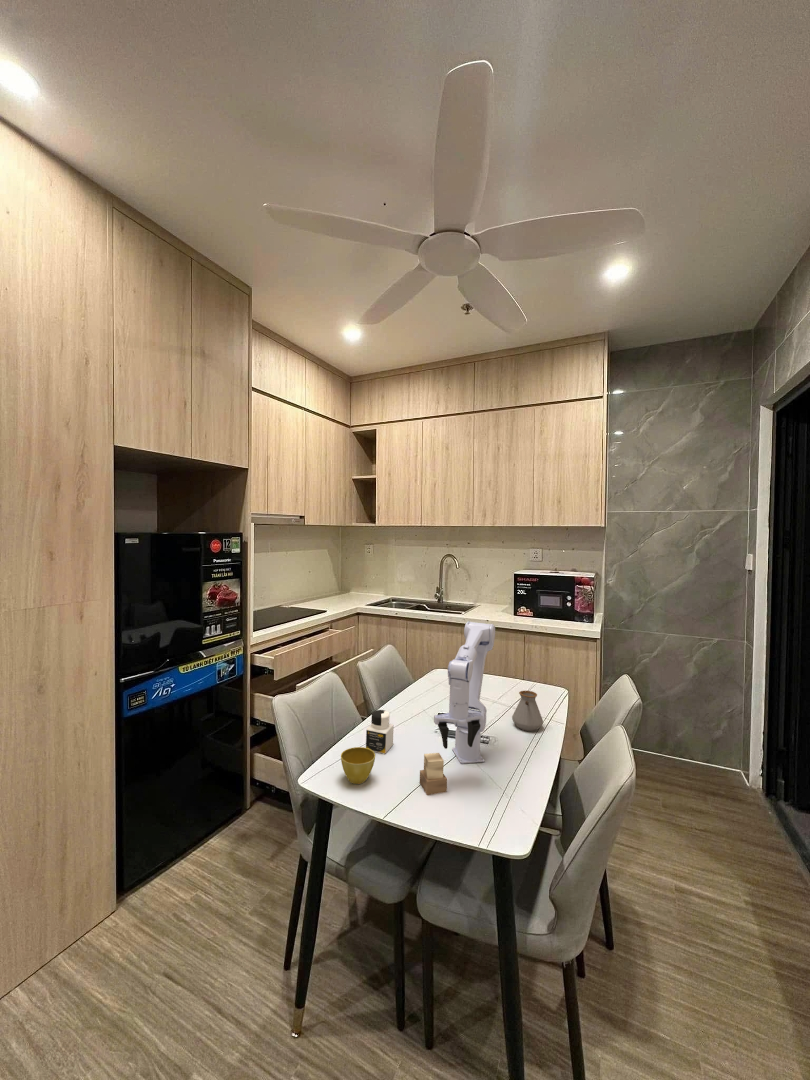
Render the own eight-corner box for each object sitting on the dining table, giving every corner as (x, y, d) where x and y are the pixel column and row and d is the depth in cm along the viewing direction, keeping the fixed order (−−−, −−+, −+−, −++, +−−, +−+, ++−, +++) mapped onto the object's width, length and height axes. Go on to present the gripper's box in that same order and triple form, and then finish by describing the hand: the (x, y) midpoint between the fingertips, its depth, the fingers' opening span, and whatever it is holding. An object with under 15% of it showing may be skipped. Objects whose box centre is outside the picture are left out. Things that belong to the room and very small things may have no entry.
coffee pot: (513, 718, 175) (514, 681, 175) (543, 723, 171) (544, 685, 171) (507, 742, 155) (509, 699, 155) (541, 748, 151) (543, 705, 151)
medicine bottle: (365, 750, 146) (366, 714, 146) (374, 740, 152) (375, 706, 152) (385, 754, 143) (386, 718, 143) (393, 744, 150) (394, 710, 150)
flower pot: (357, 766, 136) (358, 743, 136) (381, 778, 129) (382, 754, 129) (332, 779, 128) (333, 755, 128) (357, 793, 121) (358, 768, 121)
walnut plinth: (419, 783, 128) (419, 770, 128) (438, 780, 129) (439, 767, 129) (426, 795, 122) (427, 781, 122) (446, 792, 124) (447, 778, 124)
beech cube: (423, 771, 127) (424, 753, 127) (438, 769, 128) (439, 752, 128) (427, 779, 123) (428, 761, 123) (443, 778, 124) (443, 760, 124)
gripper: (439, 707, 124) (437, 754, 125) (487, 705, 127) (485, 751, 127) (432, 697, 131) (431, 742, 132) (478, 695, 134) (477, 739, 134)
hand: (457, 746), depth 130 cm, fingers open, 7 cm apart
